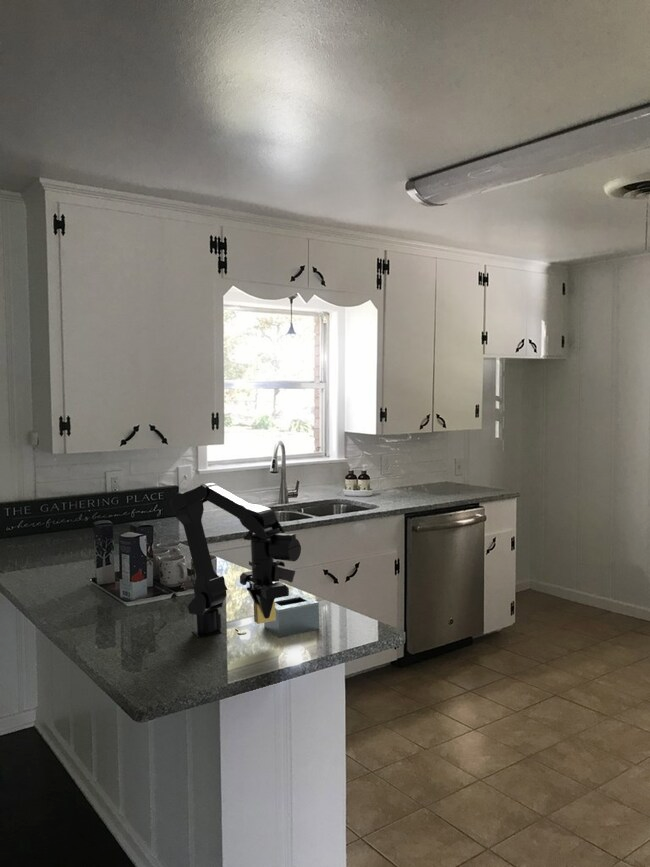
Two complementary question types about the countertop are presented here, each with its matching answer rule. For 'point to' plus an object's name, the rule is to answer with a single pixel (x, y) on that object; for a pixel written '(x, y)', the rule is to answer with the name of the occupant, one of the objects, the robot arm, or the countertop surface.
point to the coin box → (294, 615)
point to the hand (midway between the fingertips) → (264, 616)
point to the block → (259, 614)
